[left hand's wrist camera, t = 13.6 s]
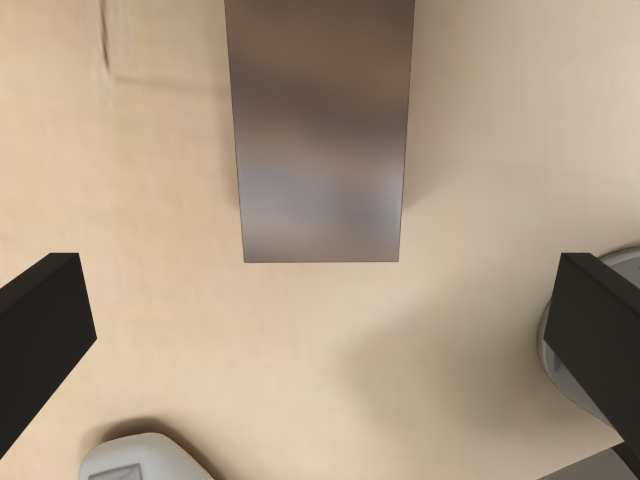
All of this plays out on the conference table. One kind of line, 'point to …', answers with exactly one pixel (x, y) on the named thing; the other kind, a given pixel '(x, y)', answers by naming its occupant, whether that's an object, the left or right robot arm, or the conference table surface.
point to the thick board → (320, 126)
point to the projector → (141, 460)
